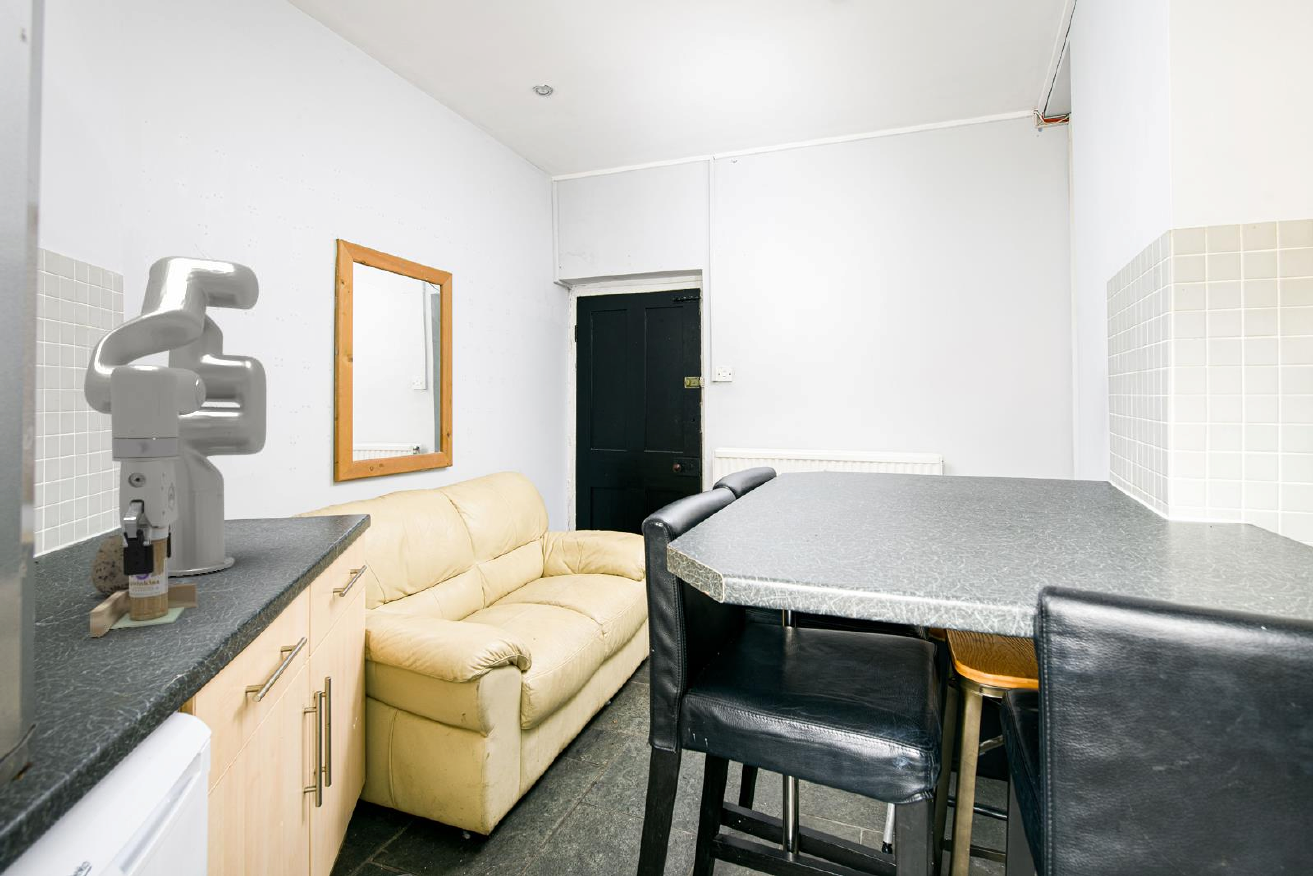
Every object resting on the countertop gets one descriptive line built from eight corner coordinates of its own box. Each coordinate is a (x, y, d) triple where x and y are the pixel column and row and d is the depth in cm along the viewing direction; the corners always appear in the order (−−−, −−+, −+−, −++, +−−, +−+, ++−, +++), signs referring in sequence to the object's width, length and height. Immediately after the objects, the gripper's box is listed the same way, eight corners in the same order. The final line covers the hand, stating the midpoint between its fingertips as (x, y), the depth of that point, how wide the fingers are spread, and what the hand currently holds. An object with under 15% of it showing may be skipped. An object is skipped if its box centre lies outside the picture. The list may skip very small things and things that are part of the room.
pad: (126, 615, 91) (126, 613, 91) (184, 608, 94) (184, 607, 94) (110, 629, 84) (110, 627, 84) (173, 622, 88) (173, 620, 88)
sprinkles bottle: (126, 623, 86) (124, 529, 86) (132, 614, 90) (130, 524, 90) (167, 617, 89) (165, 526, 88) (171, 609, 93) (169, 522, 92)
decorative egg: (141, 595, 101) (140, 535, 101) (92, 602, 97) (91, 540, 96) (138, 587, 105) (137, 530, 105) (91, 594, 101) (89, 534, 101)
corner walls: (118, 613, 91) (118, 590, 91) (197, 604, 96) (196, 583, 96) (90, 638, 81) (89, 612, 81) (179, 627, 86) (179, 603, 86)
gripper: (163, 453, 83) (165, 577, 83) (191, 446, 98) (193, 551, 99) (91, 454, 79) (94, 584, 80) (131, 447, 94) (134, 556, 95)
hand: (148, 566), depth 89 cm, fingers open, 9 cm apart
